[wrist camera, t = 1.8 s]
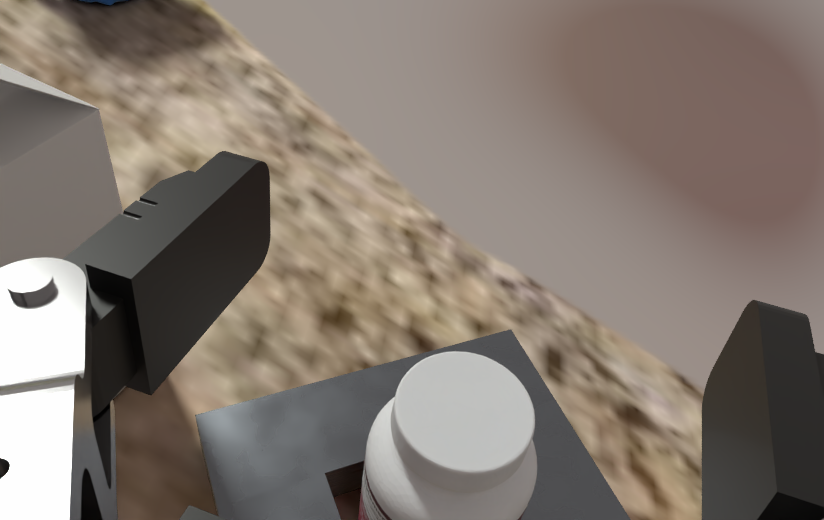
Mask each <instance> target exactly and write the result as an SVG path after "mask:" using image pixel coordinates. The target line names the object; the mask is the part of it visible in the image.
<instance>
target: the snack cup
mask: <svg viewBox="0 0 824 520" xmlns="http://www.w3.org/2000/svg"><path fill="white" fill-rule="evenodd" d="M79 1H85V2H99V3H102V4H106V5H113V4H114V3H115V2H121V1H128V0H79Z"/></svg>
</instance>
